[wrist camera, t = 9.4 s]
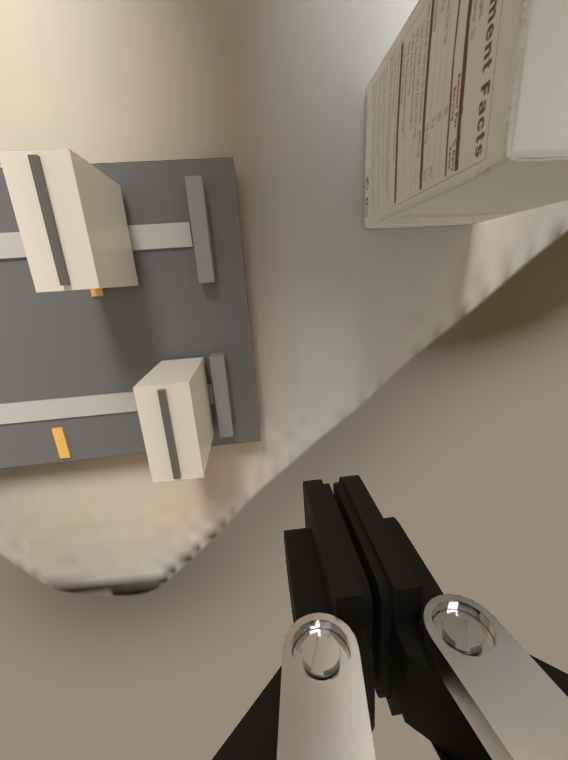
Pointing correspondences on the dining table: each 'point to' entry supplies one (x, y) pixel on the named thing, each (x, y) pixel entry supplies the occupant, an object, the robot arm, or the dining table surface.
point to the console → (129, 321)
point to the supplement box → (469, 114)
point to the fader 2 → (175, 419)
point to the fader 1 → (69, 221)
